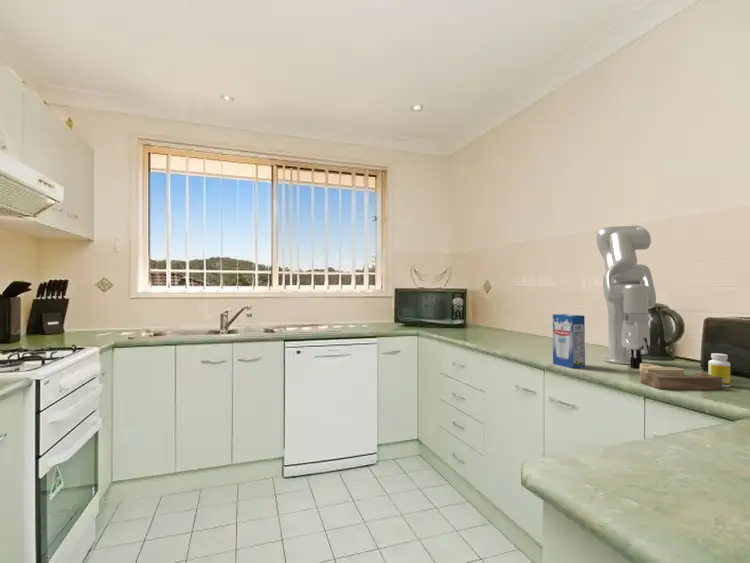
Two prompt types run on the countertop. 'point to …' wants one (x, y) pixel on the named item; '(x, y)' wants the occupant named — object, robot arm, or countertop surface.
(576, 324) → the milk carton
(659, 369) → the t block
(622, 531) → the countertop surface
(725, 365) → the supplement bottle
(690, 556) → the countertop surface
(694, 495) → the countertop surface
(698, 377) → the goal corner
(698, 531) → the countertop surface
